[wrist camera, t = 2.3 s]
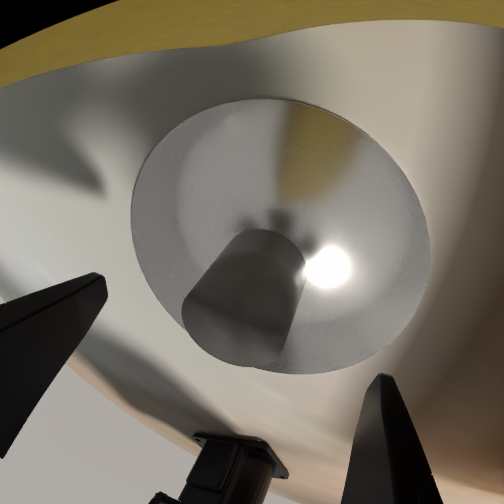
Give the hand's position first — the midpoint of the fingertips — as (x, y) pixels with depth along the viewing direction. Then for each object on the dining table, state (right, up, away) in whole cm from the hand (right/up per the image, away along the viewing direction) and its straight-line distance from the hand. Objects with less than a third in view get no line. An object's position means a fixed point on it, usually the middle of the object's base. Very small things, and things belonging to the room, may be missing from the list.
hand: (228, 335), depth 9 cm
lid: (+1, +2, +3) cm, 4 cm away
